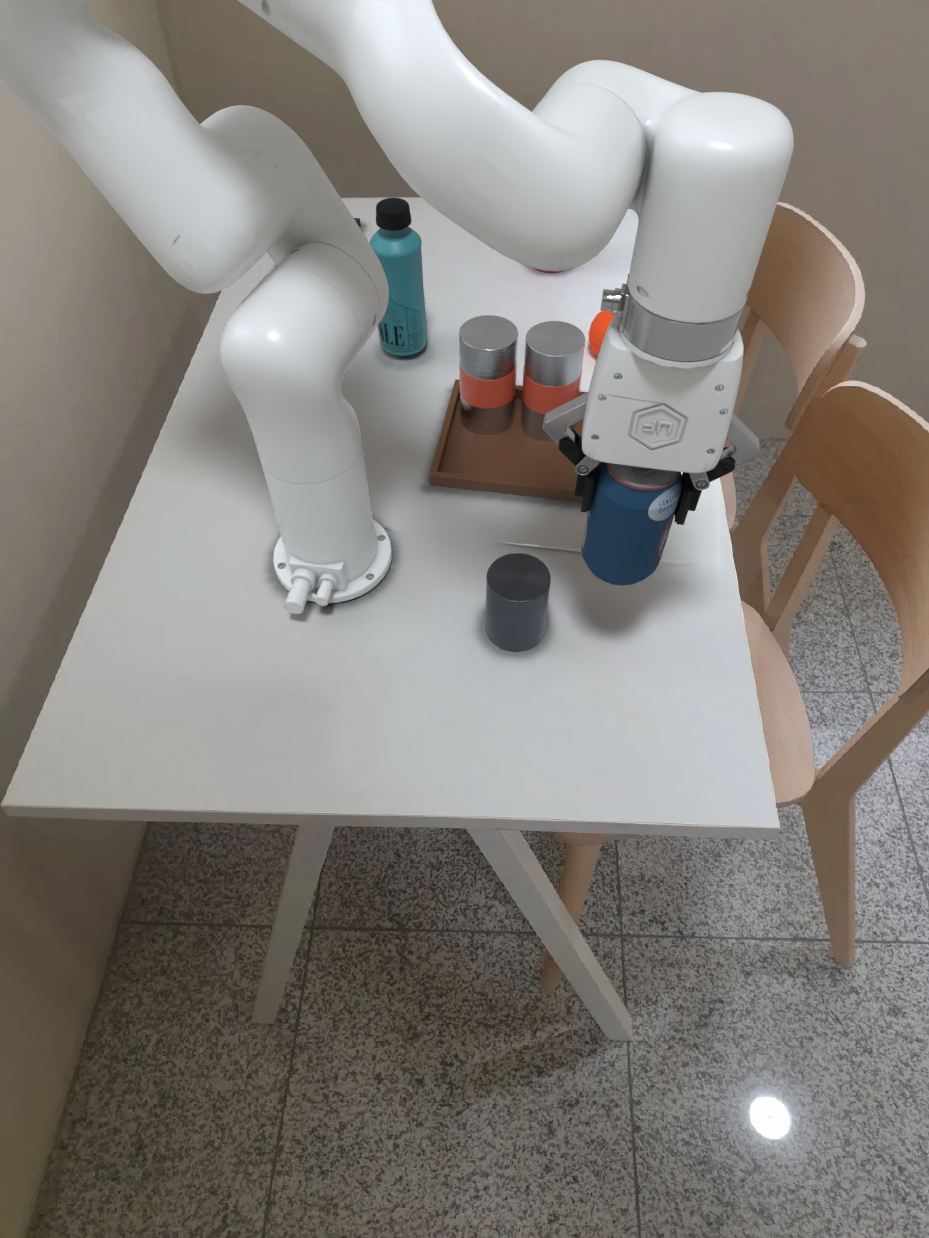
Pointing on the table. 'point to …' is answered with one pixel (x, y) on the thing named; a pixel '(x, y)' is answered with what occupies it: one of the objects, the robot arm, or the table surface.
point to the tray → (501, 458)
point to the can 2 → (550, 372)
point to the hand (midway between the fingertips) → (632, 505)
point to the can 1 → (487, 373)
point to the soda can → (629, 521)
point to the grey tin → (517, 601)
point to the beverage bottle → (400, 278)
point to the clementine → (599, 329)
